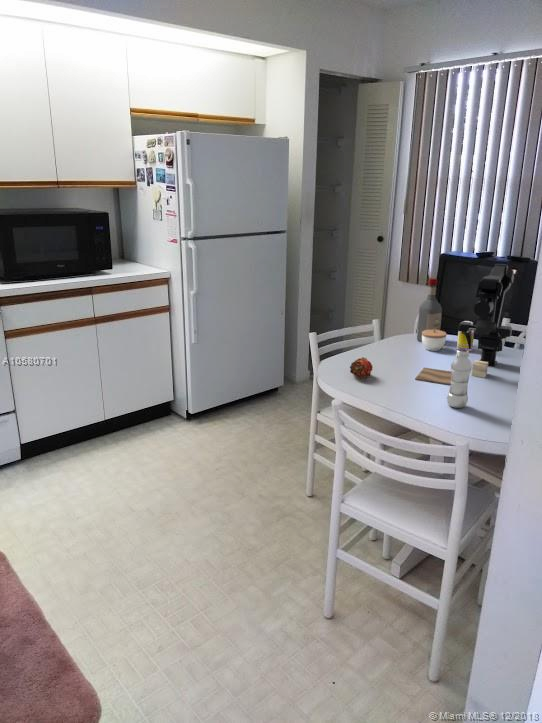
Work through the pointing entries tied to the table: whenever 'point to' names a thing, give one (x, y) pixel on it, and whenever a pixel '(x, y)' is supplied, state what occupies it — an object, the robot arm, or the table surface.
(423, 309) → the liquor
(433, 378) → the walnut board
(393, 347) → the table surface
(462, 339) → the supplement bottle
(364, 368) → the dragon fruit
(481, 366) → the maple cube
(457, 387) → the plastic bottle
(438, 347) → the lidded jar
